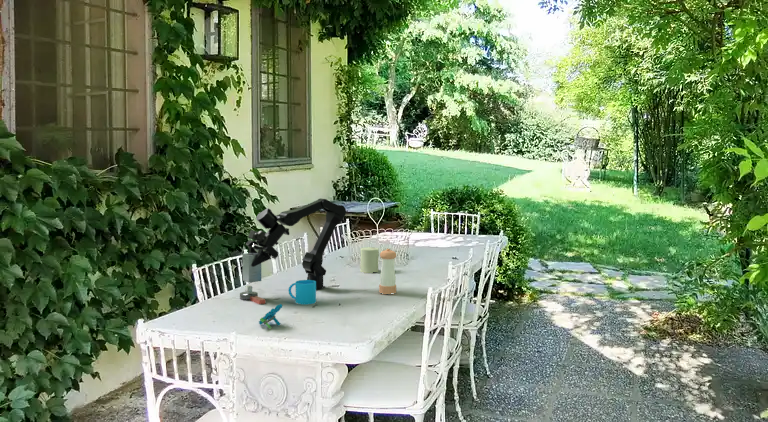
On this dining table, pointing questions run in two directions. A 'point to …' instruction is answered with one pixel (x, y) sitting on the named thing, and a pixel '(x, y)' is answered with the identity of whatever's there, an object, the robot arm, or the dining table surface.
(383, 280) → the salt shaker
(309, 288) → the mug
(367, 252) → the can
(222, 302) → the dining table surface
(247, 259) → the grey blue box
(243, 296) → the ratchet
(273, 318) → the teal plastic angular piece
